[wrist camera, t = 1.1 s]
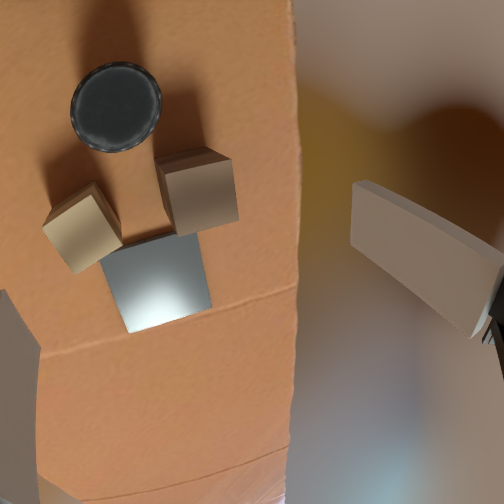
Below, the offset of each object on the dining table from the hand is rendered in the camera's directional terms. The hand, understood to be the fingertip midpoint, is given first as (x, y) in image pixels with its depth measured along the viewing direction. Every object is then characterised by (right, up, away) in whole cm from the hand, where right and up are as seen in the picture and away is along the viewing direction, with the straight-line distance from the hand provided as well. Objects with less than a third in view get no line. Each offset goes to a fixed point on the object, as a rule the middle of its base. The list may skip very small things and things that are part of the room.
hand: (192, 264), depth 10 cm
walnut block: (-4, +7, +18) cm, 20 cm away
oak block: (-13, +4, +16) cm, 21 cm away
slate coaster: (-8, -3, +22) cm, 24 cm away
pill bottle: (-10, +13, +13) cm, 21 cm away
